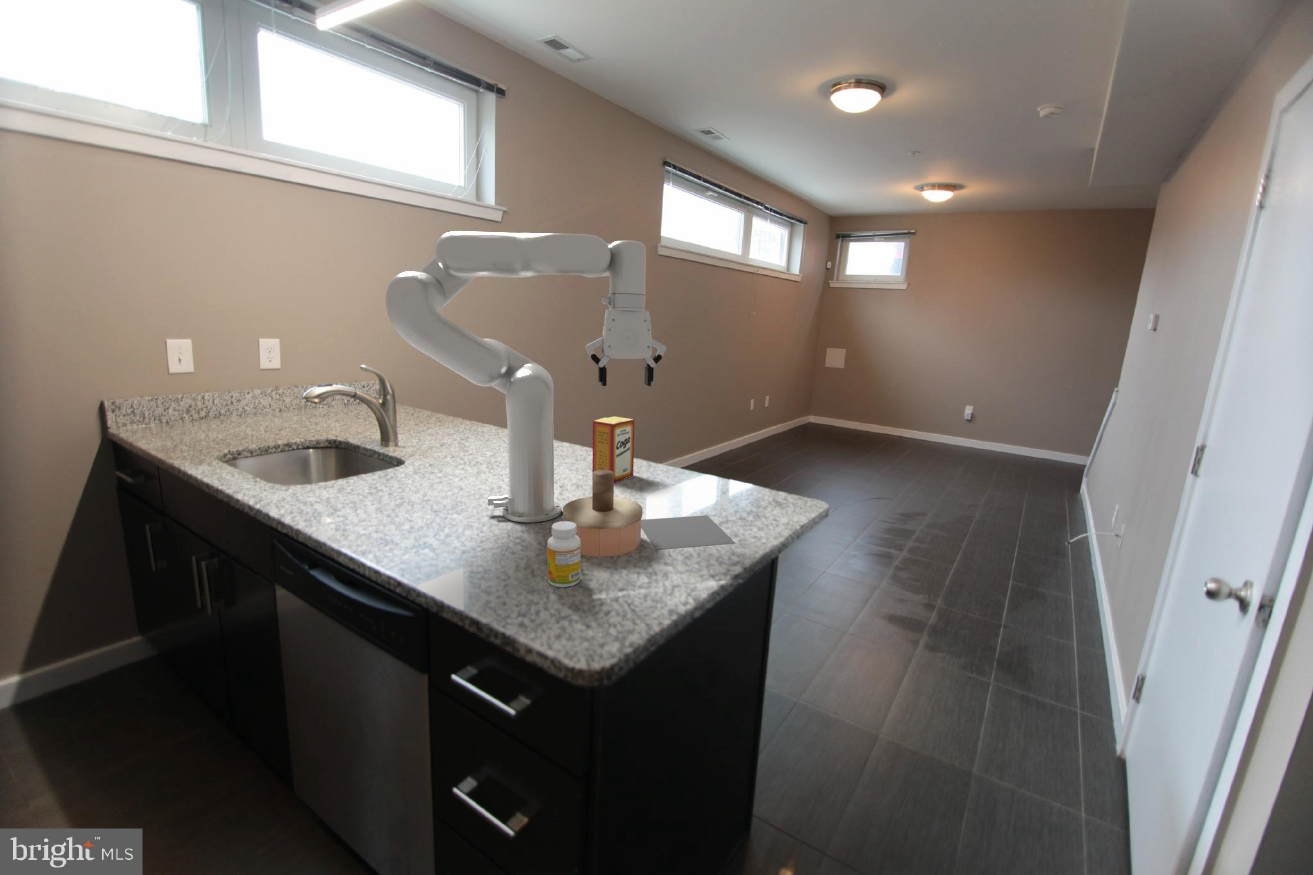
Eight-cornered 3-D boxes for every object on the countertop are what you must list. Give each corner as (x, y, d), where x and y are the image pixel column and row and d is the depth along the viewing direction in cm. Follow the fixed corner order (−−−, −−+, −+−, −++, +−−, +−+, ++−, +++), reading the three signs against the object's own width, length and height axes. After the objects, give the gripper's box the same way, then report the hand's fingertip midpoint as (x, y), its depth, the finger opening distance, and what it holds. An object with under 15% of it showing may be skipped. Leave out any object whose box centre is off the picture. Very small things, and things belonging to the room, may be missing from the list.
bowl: (570, 562, 104) (570, 530, 103) (562, 533, 118) (561, 504, 116) (647, 555, 108) (647, 524, 107) (630, 528, 121) (630, 500, 120)
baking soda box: (614, 471, 164) (615, 414, 160) (633, 475, 160) (634, 417, 157) (592, 478, 156) (592, 419, 153) (611, 483, 152) (612, 422, 149)
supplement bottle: (549, 573, 100) (548, 519, 98) (581, 573, 100) (581, 519, 98) (546, 588, 94) (545, 531, 92) (579, 588, 95) (580, 531, 93)
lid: (568, 531, 102) (567, 486, 101) (558, 504, 117) (558, 464, 115) (651, 525, 106) (652, 482, 105) (632, 499, 121) (633, 461, 119)
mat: (656, 552, 110) (656, 549, 109) (636, 522, 125) (636, 520, 124) (735, 545, 114) (735, 543, 114) (706, 517, 129) (707, 515, 129)
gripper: (588, 302, 116) (588, 388, 120) (672, 304, 121) (669, 387, 124) (583, 302, 123) (583, 383, 127) (662, 304, 128) (660, 383, 131)
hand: (625, 385), depth 126 cm, fingers open, 9 cm apart
